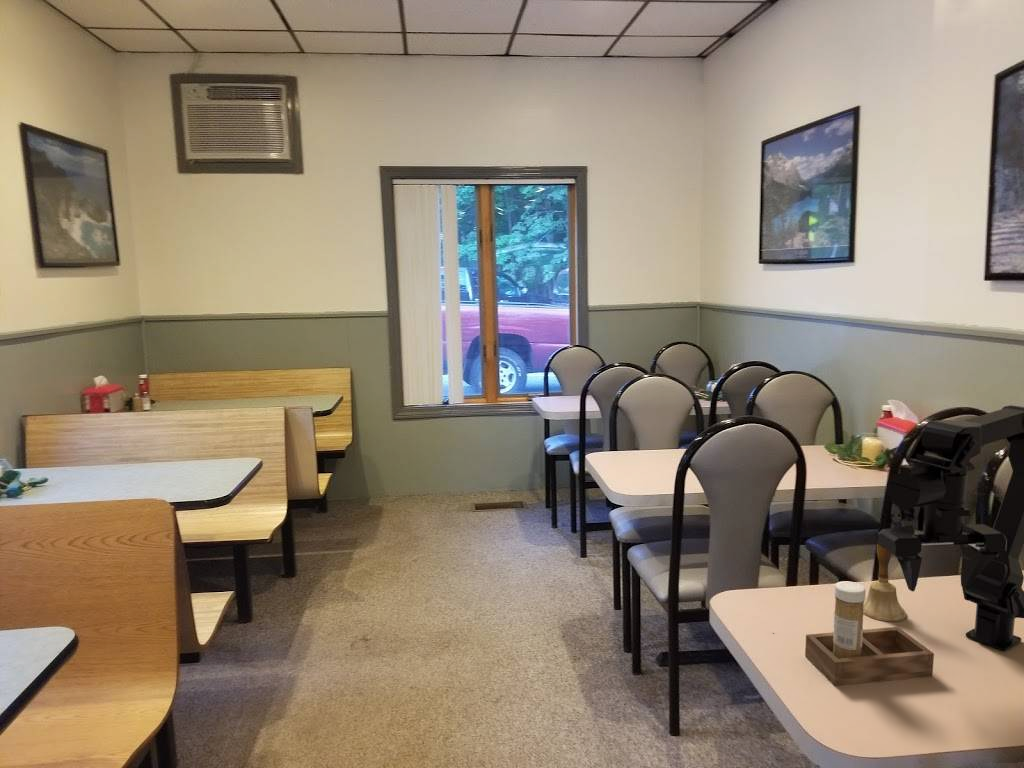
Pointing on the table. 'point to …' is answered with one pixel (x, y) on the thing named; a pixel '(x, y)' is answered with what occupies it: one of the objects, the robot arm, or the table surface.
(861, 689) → the table surface
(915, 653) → the wooden compartment tray
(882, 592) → the hand bell
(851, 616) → the sprinkles bottle
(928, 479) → the robot arm
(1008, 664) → the table surface
